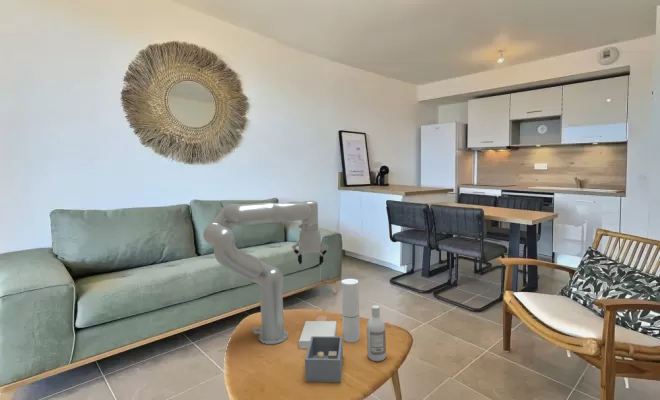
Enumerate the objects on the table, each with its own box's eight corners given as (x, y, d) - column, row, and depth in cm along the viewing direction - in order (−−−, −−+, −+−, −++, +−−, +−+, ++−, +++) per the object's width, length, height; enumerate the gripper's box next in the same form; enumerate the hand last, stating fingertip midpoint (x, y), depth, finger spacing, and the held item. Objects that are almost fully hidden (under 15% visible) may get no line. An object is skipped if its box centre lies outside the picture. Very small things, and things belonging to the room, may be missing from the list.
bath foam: (389, 358, 129) (388, 307, 127) (374, 363, 126) (372, 312, 124) (379, 350, 135) (378, 301, 133) (364, 354, 132) (362, 305, 130)
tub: (340, 382, 116) (339, 360, 115) (305, 381, 117) (304, 359, 116) (342, 356, 131) (342, 336, 131) (312, 355, 133) (311, 336, 132)
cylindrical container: (359, 334, 148) (358, 278, 146) (359, 342, 141) (358, 284, 139) (343, 334, 149) (341, 278, 147) (342, 342, 142) (340, 284, 139)
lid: (333, 349, 137) (333, 341, 137) (299, 348, 138) (299, 341, 138) (337, 322, 160) (337, 316, 159) (307, 322, 161) (307, 316, 161)
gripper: (289, 228, 155) (290, 265, 156) (327, 229, 152) (327, 266, 154) (293, 226, 162) (294, 261, 163) (329, 226, 160) (330, 262, 161)
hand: (310, 263), depth 159 cm, fingers open, 9 cm apart
